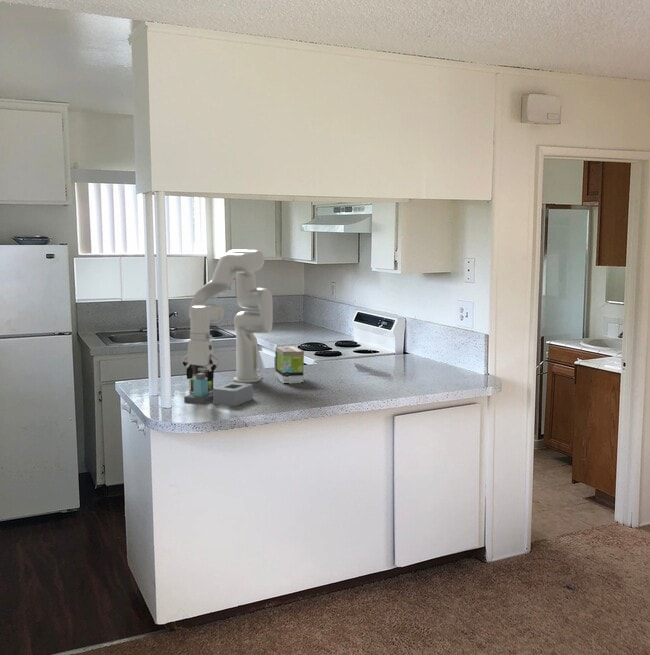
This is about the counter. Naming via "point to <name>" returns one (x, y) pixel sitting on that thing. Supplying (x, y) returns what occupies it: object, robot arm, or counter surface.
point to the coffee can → (196, 370)
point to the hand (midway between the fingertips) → (199, 379)
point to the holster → (199, 399)
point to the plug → (200, 385)
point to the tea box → (289, 364)
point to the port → (232, 393)
